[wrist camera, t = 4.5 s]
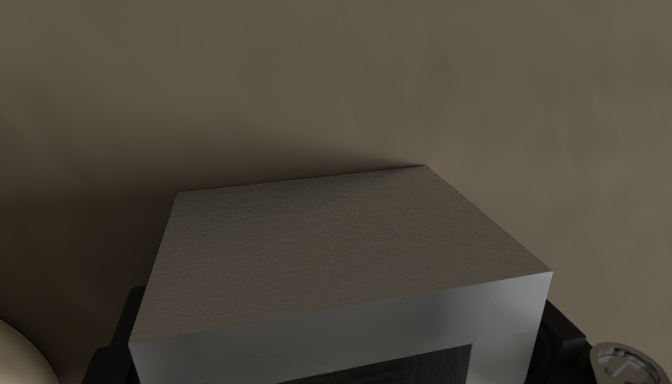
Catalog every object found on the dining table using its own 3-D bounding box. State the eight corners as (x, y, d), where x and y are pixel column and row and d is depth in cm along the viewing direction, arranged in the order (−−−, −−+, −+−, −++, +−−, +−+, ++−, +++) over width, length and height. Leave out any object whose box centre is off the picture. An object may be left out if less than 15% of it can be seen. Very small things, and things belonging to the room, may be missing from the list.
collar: (426, 165, 11) (553, 270, 7) (412, 342, 14) (494, 499, 9) (177, 192, 10) (127, 344, 5) (217, 380, 13) (206, 581, 8)
